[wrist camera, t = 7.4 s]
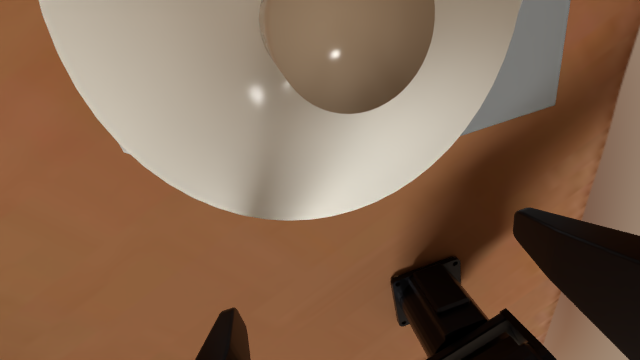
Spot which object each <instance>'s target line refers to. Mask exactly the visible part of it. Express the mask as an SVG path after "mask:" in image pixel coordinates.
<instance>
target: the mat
mask: <svg viewBox="0 0 640 360" xmlns="http://www.w3.org/2000/svg"><path fill="white" fill-rule="evenodd" d="M569 7H570V0H523V1H522V4H521V7H520V9H519V12H518V16H517V20H516V24H515V28H514V32H513V35H512V38H511V41H510V44H509V47H508V50H507V53H506V56H505V59H504V61H503V63H502V66H501V68H500V70H499V72H498V75H497V77H496V79H495V81H494V84H493V86H492V87H491V89H490V91H489V93H488V95H487V96H486V98H485V100H484V102H483V104H482V105H481V107H480V109H479V110H478V112H477V113H476V115H475V116H474V117H473V119H472V120H471V122H470V123H469V125H468V126H467V128H466V129H465V130H464V131H463V133H462V134H461V135H460V136H462V135H465V134H468V133H471V132H474V131H477V130H480V129H483V128H486V127H489V126H492V125H495V124H498V123H502V122H505V121H508V120H511V119H514V118H517V117H520V116H523V115H526V114H529V113H532V112H535V111H538V110H541V109H544V108H547V107H550V106H554V105H555V102H556V95H557V88H558V81H559V74H560V68H561V61H562V54H563V47H564V41H565V34H566V27H567V20H568V13H569Z"/></svg>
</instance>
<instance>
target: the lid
mask: <svg viewBox="0 0 640 360" xmlns="http://www.w3.org/2000/svg"><path fill="white" fill-rule="evenodd" d="M39 3H40V7H41V11H42V15H43V17H44V20H45V23H46V25H47V28H48V30H49V33H50V35H51V38H52V40H53V43H54V45H55V48H56V50H57V53H58V55H59V57H60V59H61V61H62V63H63V65H64V66H65V68H66V70H67V72H68V74H69V76H70V78H71V79H72V81H73V83H74V85H75V87H76V89H77V90H78V92H79V93H80V95H81V96H82V97H83V99H84V100H85V102H86V103H87V105H88V106H89V108H90V109H91V110H92V112H93V113H94V115H95V116H96V118H97V119H98V120H99V121H100V122H101V124H102V125H103V126H104V127H105V128H106V129H107V130H108V132H109V133H110V134H111V135H112V136H113V137H114V138H115V140H116V141H117V142H118V143H119V144H120V145H121V146H122V147H123V148H124V149H125V150H126V151H128V152H129V153H130V154H131V155H132V156H133V157H134V158H135V159H136V160H137V161H139V162H140V163H141V164H142V165H143V166H144V167H146V168H147V169H148V170H150V171H151V172H153V173H154V174H155V175H157V176H158V177H159V178H161V179H162V180H164V181H165V182H166V183H168V184H170V185H171V186H173V187H175V188H177V189H178V190H180V191H182V192H184V193H186V194H187V195H189V196H191V197H193V198H195V199H198V200H200V201H202V202H205V203H207V204H209V205H212V206H214V207H216V208H220V209H223V210H226V211H230V212H233V213H237V214H240V215H245V216H251V217H256V218H262V219H272V220H310V219H317V218H323V217H330V216H335V215H338V214H342V213H346V212H350V211H353V210H356V209H359V208H361V207H364V206H367V205H369V204H372V203H374V202H376V201H378V200H380V199H382V198H384V197H386V196H388V195H390V194H392V193H394V192H396V191H397V190H399V189H400V188H402V187H403V186H405V185H407V184H408V183H410V182H411V181H413V180H414V179H415V178H417V177H418V176H419V175H420V174H422V173H423V172H424V171H425V170H427V169H428V168H429V167H430V166H432V165H433V164H434V163H435V162H436V161H437V160H438V159H439V158H440V157H441V156H442V155H443V154H444V153H445V152H446V151H447V150H448V149H449V148H450V147H451V146H452V145H453V143H454V142H455V141H456V140H457V139H458V137H459V136H460V135H461V134H462V133H463V131H464V130H465V129H466V128H467V126H468V125H469V123H470V122H471V120H472V119H473V117H474V116H475V115H476V113H477V112H478V110H479V109H480V107H481V105H482V104H483V102H484V100H485V98H486V96H487V95H488V93H489V91H490V89H491V87H492V86H493V84H494V81H495V79H496V77H497V75H498V72H499V70H500V68H501V66H502V63H503V61H504V59H505V56H506V53H507V50H508V47H509V44H510V41H511V38H512V35H513V32H514V28H515V24H516V20H517V16H518V11H519V7H520V3H521V0H39Z"/></svg>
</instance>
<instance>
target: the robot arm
mask: <svg viewBox="0 0 640 360" xmlns="http://www.w3.org/2000/svg"><path fill="white" fill-rule="evenodd" d="M513 234H514V236H515V238H516V240H517V241H518V242H519V243H520V245H521V246H522V247H523V248H524V249H525V251H526V252H527V253H528V254H529V255H530V257H531V258H532V259H533V260H534V261H535V263H536V264H537V265H538V266H539V268H540V269H541V270H542V271H543V272H544V274H545V275H546V276H547V277H548V278H549V279H550V280H551V281H552V282H553V283H554V284H555V285H556V286H557V287H558V288H559V289H560V290H561V291H562V292H563V293H564V294H565V295H566V296H567V297H568V298H569V299H570V300H571V301H572V302H573V303H574V305H576V307H578V309H579V310H580V311H581V312H583V314H584V315H585V316H587V318H589V320H590V321H591V322H592V323H593V324H595V326H596V327H598V328H599V330H600V331H602V333H603V334H604V335H605V336H607V338H608V339H610V341H611V342H612V343H613V344H615V346H616V347H617V348H618V349H619V350H620V351H621V352H622V353H623V354H624V355H625V356H626V357H627V358H628V359H629V360H640V236H638V235H634V234H630V233H627V232H623V231H619V230H615V229H611V228H607V227H603V226H599V225H596V224H592V223H588V222H584V221H580V220H576V219H572V218H569V217H565V216H561V215H557V214H553V213H549V212H545V211H542V210H538V209H534V208H524V209H521V210H519V211H516V213H515V215H514V225H513ZM391 288H392V293H393V299H394V305H395V310H396V316H397V321H398V323H399V325H400V326H406V325H408V324H410V325H411V327H412V329H413V331H414V333H415V334H416V336H417V338H418V340H419V342H420V343H421V345H422V347H423V349H424V351H425V353H426V354H427V356H428V359H426V360H556V358H555V357H554V356H553V355H552V354H551V353H550V352H549V351H548V350H547V349H546V348H545V347H544V346H543V345H542V344H541V343H540V342H539V341H538V340H537V339H536V338H535V337H534V336H533V335H532V334H531V333H530V332H529V331H528V330H527V329H526V328H525V327H524V326H523V325H522V324H521V323H520V322H519V321H518V320H517V319H516V318H515V317H514V316H513V315H512V314H511V313H510V312H509V311H508V310H507V309H506V308H505V309H503V310H502V311H500V314H498V315H496V316H495V317H493V318H492V319H490V320H489V319H488V318H487V316H486V315H485V314H484V313H483V311H482V310H481V309H480V308H479V307H478V305H477V304H476V303H475V302H474V300H473V299H472V298H471V297H470V296H469V294H468V293H467V292H466V291H465V289H464V288H463V287H462V286H461V272H460V260H459V259H458V258H457V257H455V256H454V257H450V258H448V259H445V260H442V261H439V262H437V263H434V264H431V265H428V266H425V267H423V268H420V269H417V270H414V271H412V272H409V273H406V274H403V275H400V276H398V277H395V278H393V279H392V280H391ZM195 360H251V359H250V351H249V343H248V334H247V329H246V326H245V323H244V321H243V320H242V318H241V316H240V314H239V312H238V310H237V309H236V308H230V309H227V310H224V311H222V312H221V313H220V314H219V316H218V318H217V320H216V322H215V324H214V326H213V327H212V329H211V331H210V333H209V335H208V337H207V339H206V340H205V342H204V344H203V346H202V348H201V350H200V352H199V353H198V355H197V357H196V359H195Z"/></svg>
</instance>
